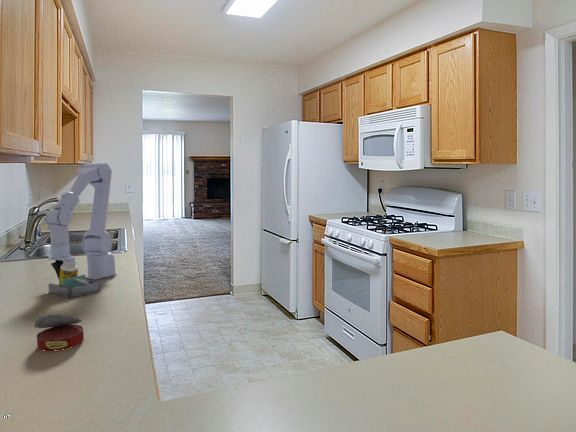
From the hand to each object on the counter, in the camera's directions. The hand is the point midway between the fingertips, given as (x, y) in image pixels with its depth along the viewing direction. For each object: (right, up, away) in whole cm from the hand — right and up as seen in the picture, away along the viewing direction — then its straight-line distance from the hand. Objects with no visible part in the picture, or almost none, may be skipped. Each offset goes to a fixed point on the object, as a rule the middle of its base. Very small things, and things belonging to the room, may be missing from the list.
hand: (63, 281), depth 155 cm
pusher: (+9, -3, -6) cm, 11 cm away
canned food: (+25, -8, -50) cm, 56 cm away
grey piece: (+6, -3, -4) cm, 8 cm away
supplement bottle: (+2, -2, -1) cm, 3 cm away
